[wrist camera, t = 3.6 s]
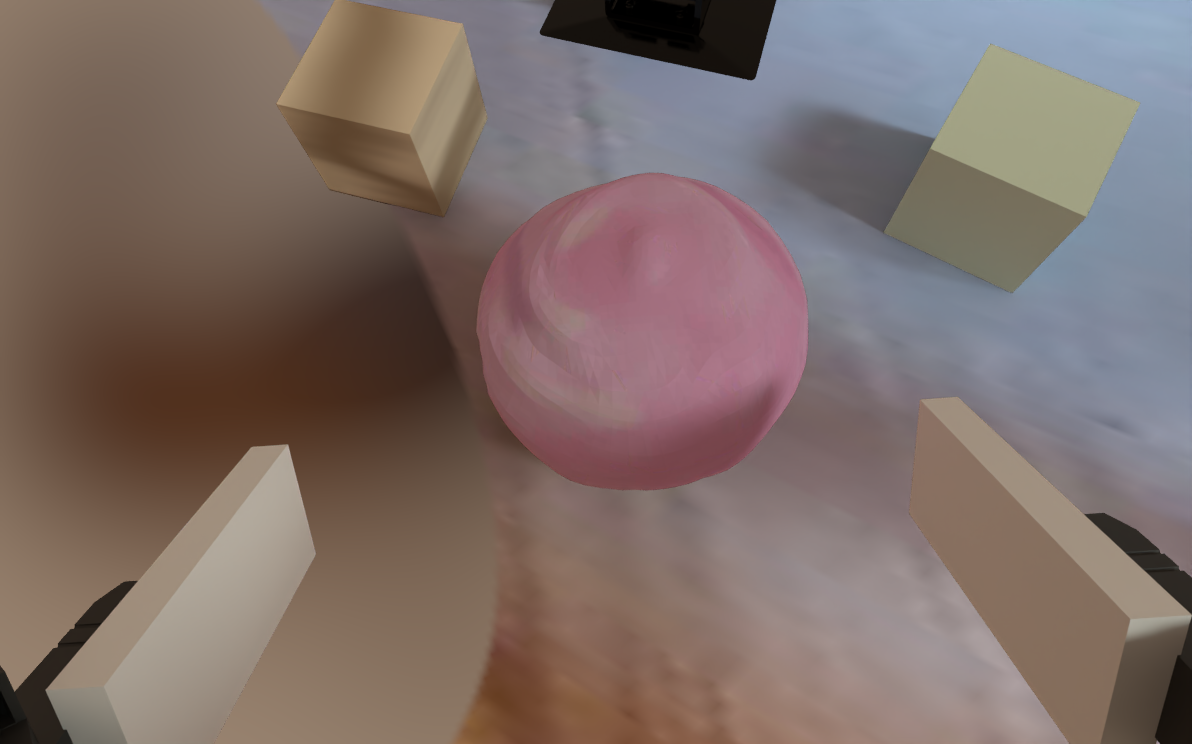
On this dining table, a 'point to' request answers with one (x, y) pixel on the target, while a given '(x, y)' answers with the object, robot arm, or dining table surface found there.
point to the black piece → (670, 30)
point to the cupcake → (643, 332)
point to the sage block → (1012, 168)
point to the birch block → (387, 105)
